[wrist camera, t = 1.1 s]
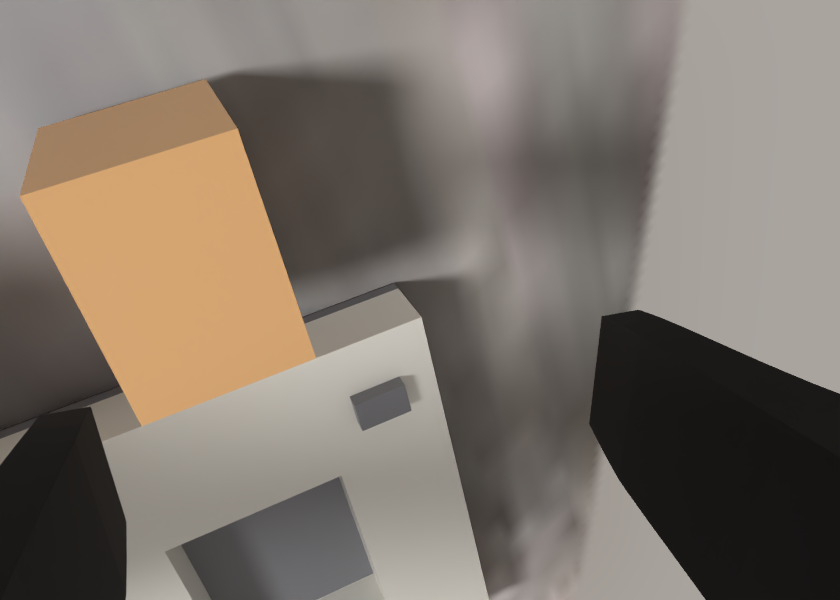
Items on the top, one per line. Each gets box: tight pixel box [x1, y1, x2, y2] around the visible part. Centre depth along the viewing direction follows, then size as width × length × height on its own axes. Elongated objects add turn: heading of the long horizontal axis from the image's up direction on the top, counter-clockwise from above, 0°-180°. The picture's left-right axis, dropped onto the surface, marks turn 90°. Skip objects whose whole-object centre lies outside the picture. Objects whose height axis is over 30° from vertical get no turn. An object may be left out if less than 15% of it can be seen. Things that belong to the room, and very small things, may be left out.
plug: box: [20, 79, 316, 426], centre depth 17 cm, size 4×6×6 cm
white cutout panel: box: [0, 283, 489, 600], centre depth 25 cm, size 13×16×3 cm
